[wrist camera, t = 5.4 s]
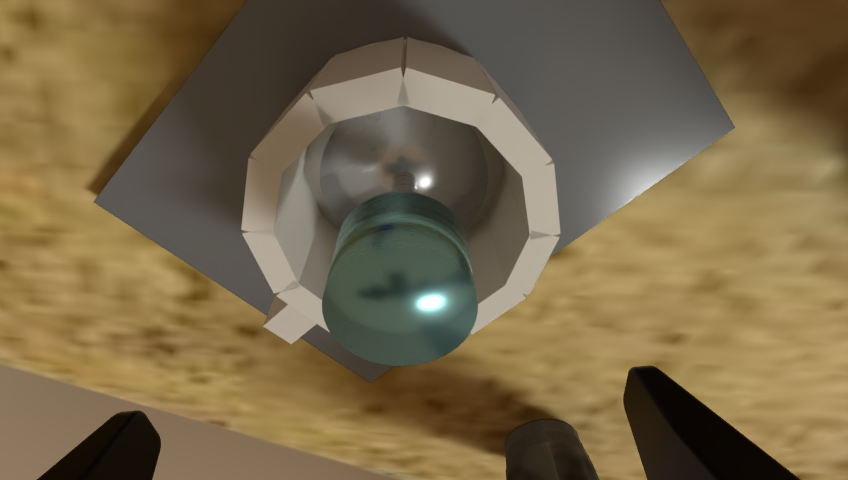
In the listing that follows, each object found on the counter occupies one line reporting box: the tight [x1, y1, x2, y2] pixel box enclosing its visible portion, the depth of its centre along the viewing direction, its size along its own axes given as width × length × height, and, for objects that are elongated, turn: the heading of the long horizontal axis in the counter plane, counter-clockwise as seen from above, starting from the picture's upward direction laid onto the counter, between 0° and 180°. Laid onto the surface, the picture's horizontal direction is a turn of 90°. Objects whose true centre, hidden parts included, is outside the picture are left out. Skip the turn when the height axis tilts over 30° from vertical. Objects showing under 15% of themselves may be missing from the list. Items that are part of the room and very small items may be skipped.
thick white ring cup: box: [241, 37, 561, 344], centre depth 16 cm, size 11×9×5 cm
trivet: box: [94, 0, 735, 383], centre depth 18 cm, size 20×15×1 cm
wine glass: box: [320, 106, 488, 366], centre depth 14 cm, size 6×6×8 cm
